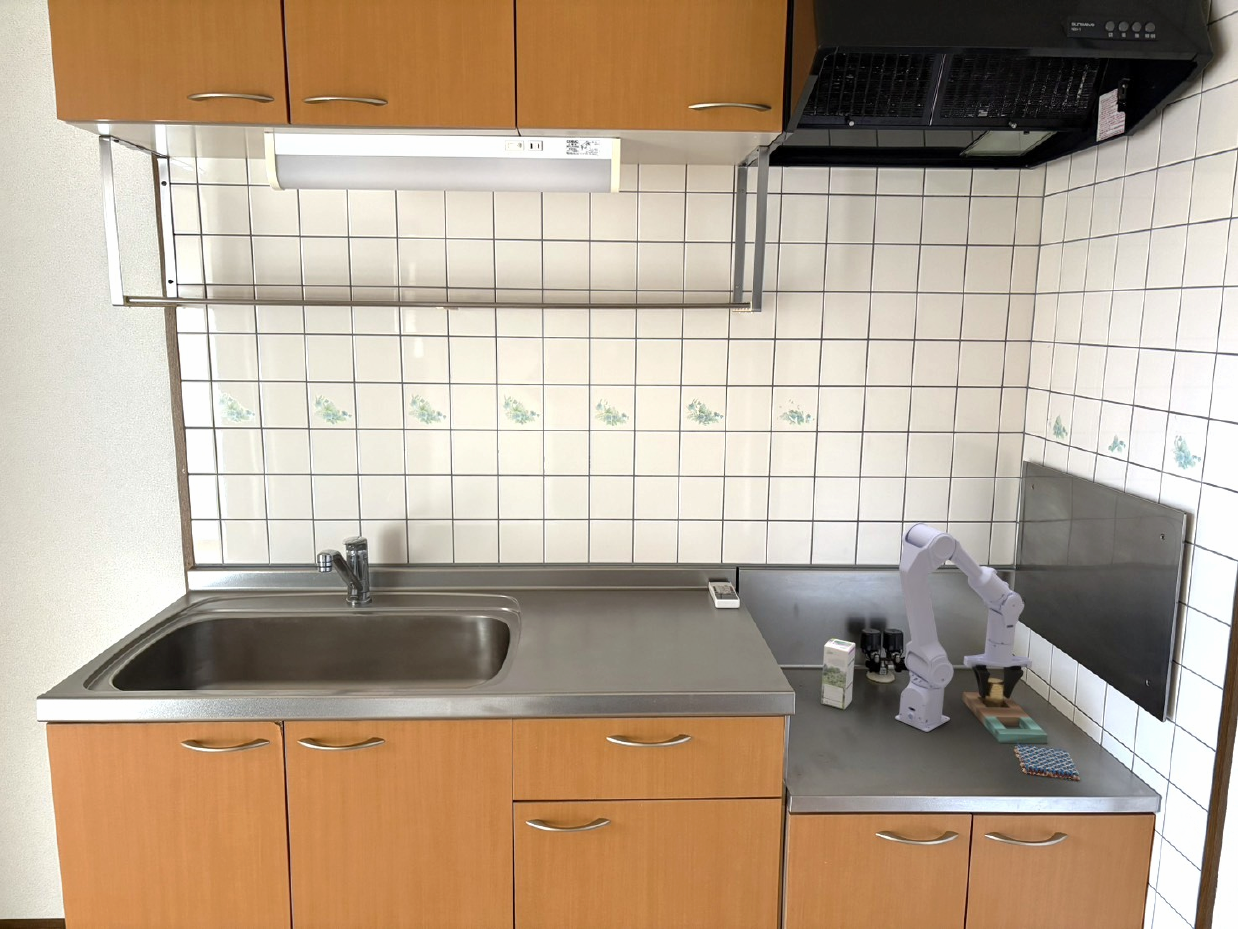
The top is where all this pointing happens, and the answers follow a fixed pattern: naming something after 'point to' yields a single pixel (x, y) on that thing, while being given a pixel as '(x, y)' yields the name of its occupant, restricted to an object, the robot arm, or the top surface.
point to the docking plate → (1005, 720)
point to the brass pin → (994, 693)
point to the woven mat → (1046, 762)
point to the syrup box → (837, 673)
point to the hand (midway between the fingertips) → (994, 696)
